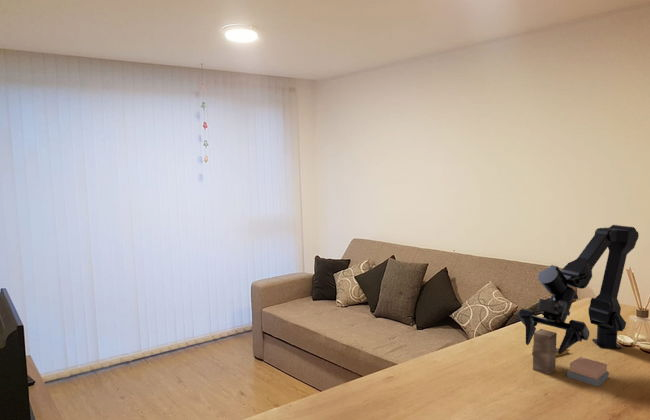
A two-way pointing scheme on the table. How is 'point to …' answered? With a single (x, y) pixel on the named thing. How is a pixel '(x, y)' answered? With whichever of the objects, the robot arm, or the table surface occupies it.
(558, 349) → the shard
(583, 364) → the terracotta top slab
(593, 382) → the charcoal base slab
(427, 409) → the table surface
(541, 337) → the walnut pillar
